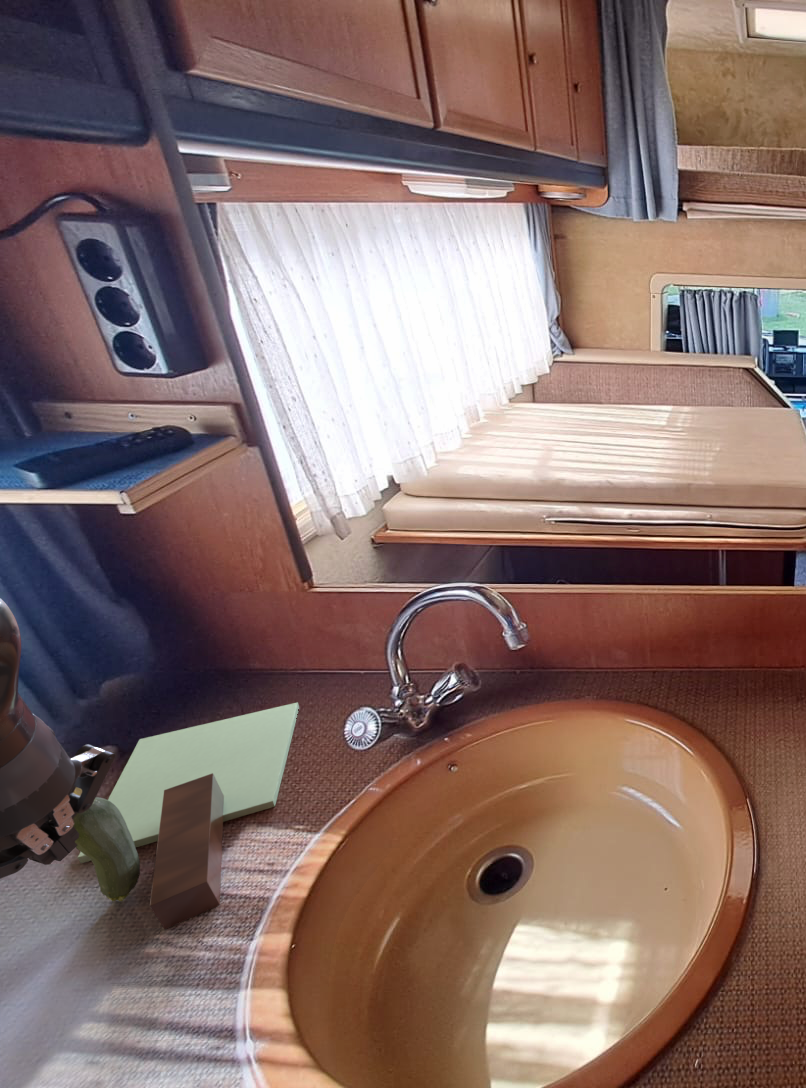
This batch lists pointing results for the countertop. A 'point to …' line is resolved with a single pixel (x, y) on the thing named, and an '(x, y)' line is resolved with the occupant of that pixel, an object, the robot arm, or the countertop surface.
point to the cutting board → (206, 767)
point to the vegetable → (108, 847)
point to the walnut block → (188, 851)
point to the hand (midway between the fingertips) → (58, 850)
